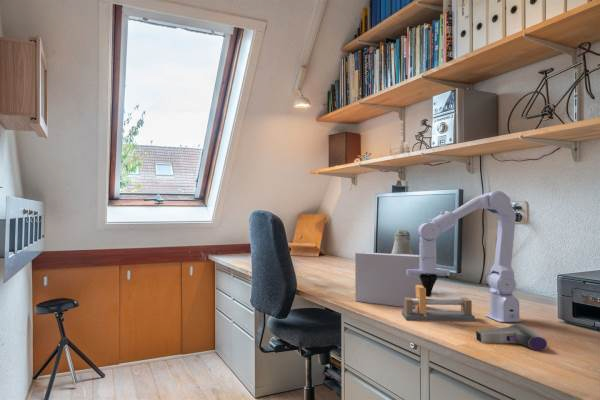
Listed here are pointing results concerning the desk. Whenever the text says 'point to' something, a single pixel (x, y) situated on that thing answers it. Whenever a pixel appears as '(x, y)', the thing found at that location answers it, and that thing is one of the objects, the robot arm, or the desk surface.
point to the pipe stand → (439, 315)
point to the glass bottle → (402, 243)
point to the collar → (421, 299)
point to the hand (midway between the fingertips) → (428, 296)
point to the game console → (385, 278)
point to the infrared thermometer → (513, 336)
